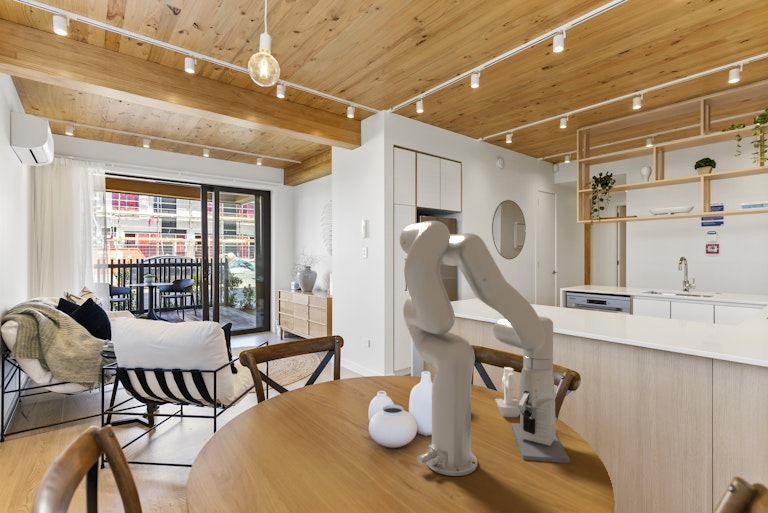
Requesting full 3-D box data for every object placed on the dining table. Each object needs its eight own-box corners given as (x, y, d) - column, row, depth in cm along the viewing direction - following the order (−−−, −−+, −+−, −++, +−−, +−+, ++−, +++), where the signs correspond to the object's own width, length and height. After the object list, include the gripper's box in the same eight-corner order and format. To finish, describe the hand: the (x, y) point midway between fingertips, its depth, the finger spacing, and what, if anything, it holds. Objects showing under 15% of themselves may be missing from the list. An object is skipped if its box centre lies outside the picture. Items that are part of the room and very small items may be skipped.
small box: (555, 438, 106) (556, 399, 106) (550, 446, 102) (551, 406, 102) (525, 430, 111) (525, 393, 111) (519, 438, 106) (519, 399, 106)
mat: (569, 463, 97) (569, 459, 97) (523, 459, 98) (523, 455, 98) (550, 430, 114) (550, 427, 114) (511, 428, 116) (511, 424, 116)
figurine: (516, 408, 130) (516, 363, 130) (524, 421, 121) (524, 372, 121) (494, 408, 131) (494, 363, 131) (500, 420, 121) (500, 372, 121)
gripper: (543, 355, 114) (543, 416, 114) (506, 364, 104) (505, 431, 104) (568, 361, 108) (568, 425, 108) (531, 371, 98) (530, 442, 98)
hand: (537, 427), depth 106 cm, fingers closed on small box, 6 cm apart
